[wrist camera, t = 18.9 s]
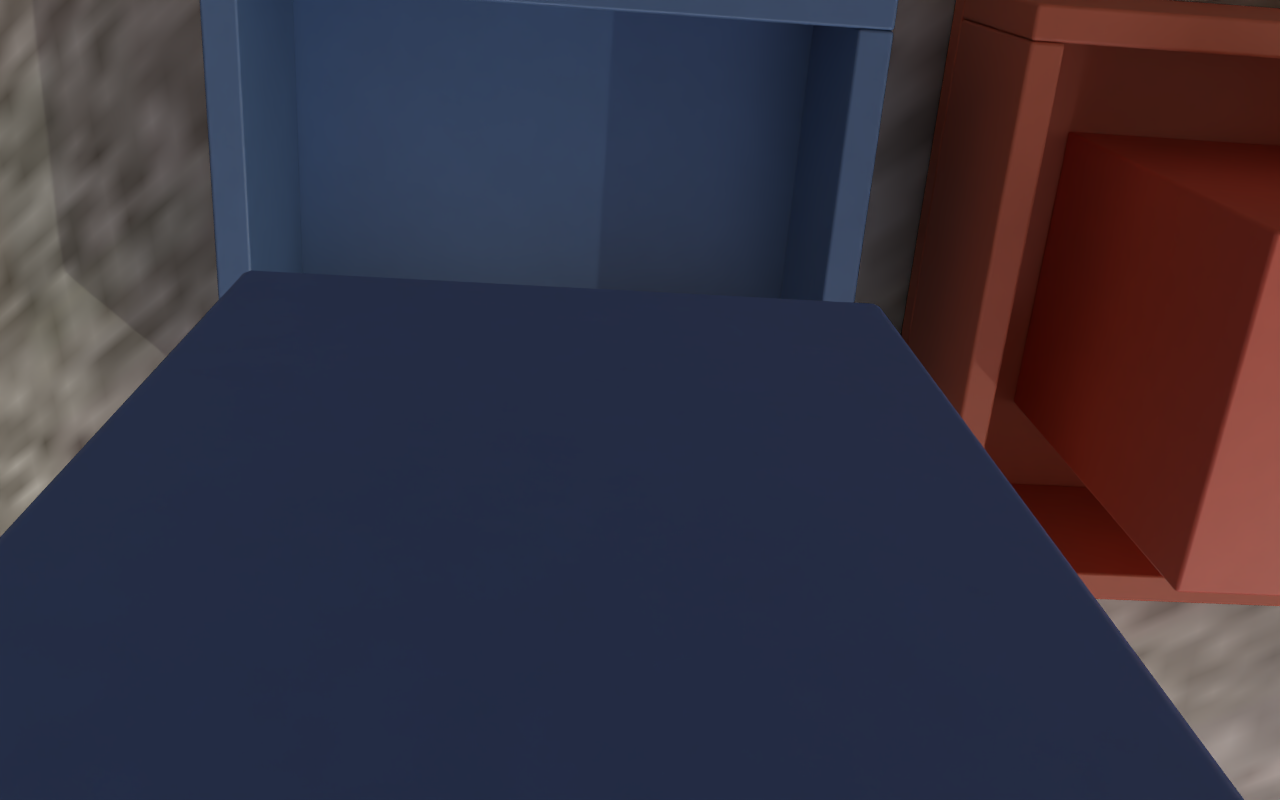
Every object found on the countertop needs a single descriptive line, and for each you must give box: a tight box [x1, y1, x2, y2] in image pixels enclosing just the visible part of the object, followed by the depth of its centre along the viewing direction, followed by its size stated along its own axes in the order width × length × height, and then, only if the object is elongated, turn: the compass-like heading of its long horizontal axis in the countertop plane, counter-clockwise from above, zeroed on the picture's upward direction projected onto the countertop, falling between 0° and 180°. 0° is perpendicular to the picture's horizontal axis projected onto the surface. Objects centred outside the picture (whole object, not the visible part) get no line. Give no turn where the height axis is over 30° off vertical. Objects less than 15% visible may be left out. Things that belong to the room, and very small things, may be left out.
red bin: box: [901, 0, 1280, 606], centre depth 24 cm, size 11×11×5 cm
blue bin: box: [200, 0, 898, 303], centre depth 23 cm, size 11×11×5 cm
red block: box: [1014, 132, 1280, 596], centre depth 22 cm, size 6×6×8 cm
